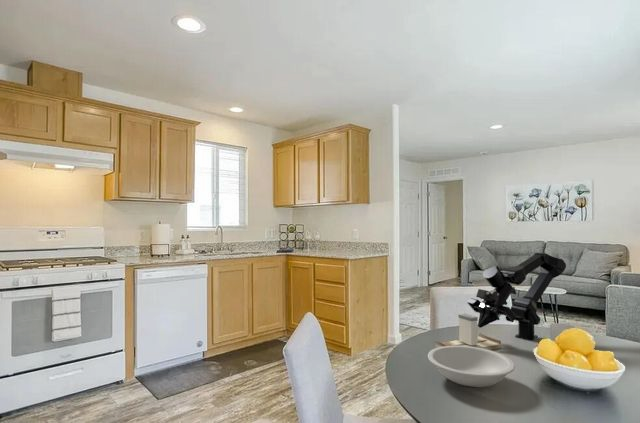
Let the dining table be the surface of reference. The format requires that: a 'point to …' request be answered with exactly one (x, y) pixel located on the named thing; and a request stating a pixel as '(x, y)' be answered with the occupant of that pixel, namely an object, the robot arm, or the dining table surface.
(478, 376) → the soup bowl
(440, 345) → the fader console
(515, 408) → the dining table surface
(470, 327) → the cream rectangular box
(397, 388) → the dining table surface
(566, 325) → the white cup
